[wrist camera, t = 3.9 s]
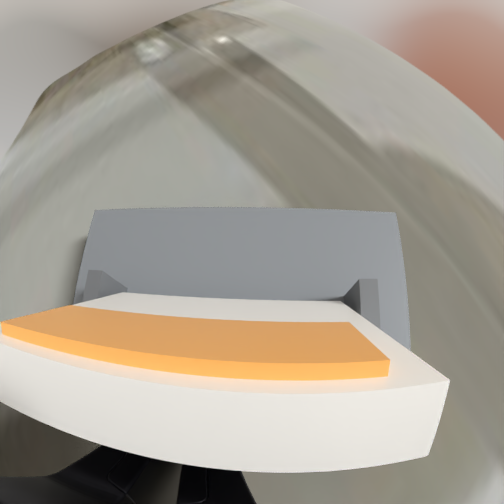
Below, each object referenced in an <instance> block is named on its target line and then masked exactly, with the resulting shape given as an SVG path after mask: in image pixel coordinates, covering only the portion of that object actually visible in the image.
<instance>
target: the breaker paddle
mask: <svg viewBox="0 0 504 504" xmlns="http://www.w3.org/2000/svg"><path fill="white" fill-rule="evenodd" d="M449 382H450V380H449V379H448V378H446V377H445V376H444V375H442V374H441V373H440V372H438V371H437V370H435V369H434V368H433V367H431V366H430V365H429V364H427V363H426V362H424V361H423V360H422V359H420V358H419V357H418V356H416V355H415V354H413V353H412V352H411V351H409V350H408V349H407V348H405V347H404V346H402V345H401V344H400V343H398V342H397V341H396V340H394V339H393V338H391V337H390V336H389V335H387V334H386V333H384V332H383V331H382V330H380V329H379V328H377V327H376V326H375V325H373V324H372V323H371V322H369V321H368V320H366V319H365V318H364V317H362V316H361V315H359V314H358V313H357V312H355V311H354V310H352V309H351V308H350V307H348V306H347V305H345V304H344V303H343V302H341V301H287V300H249V299H223V298H201V297H183V296H167V295H152V294H139V293H126V292H122V293H118V294H114V295H110V296H106V297H102V298H98V299H94V300H90V301H86V302H82V303H78V304H74V305H68V306H64V307H60V308H56V309H52V310H47V311H43V312H39V313H35V314H31V315H27V316H23V317H19V318H14V319H10V320H6V321H2V322H1V323H0V402H2V403H4V404H6V405H7V406H9V407H11V408H13V409H15V410H17V411H19V412H21V413H23V414H25V415H27V416H29V417H32V418H34V419H36V420H38V421H40V422H43V423H45V424H47V425H50V426H52V427H54V428H57V429H59V430H62V431H64V432H67V433H69V434H72V435H75V436H78V437H80V438H83V439H86V440H89V441H92V442H95V443H98V444H101V445H104V446H108V447H111V448H115V449H118V450H122V451H125V452H129V453H133V454H137V455H141V456H145V457H150V458H154V459H159V460H164V461H169V462H174V463H180V464H186V465H192V466H199V467H206V468H215V469H224V470H235V471H249V472H276V473H296V472H323V471H337V470H348V469H357V468H365V467H372V466H379V465H385V464H391V463H396V462H402V461H406V460H411V459H416V458H420V457H424V456H428V454H429V451H430V448H431V446H432V443H433V440H434V437H435V434H436V431H437V427H438V424H439V421H440V417H441V414H442V410H443V407H444V403H445V399H446V395H447V391H448V387H449Z"/></svg>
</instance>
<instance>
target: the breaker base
mask: <svg viewBox="0 0 504 504" xmlns="http://www.w3.org/2000/svg"><path fill="white" fill-rule="evenodd" d="M122 292H126V293H139V294H152V295H167V296H183V297H201V298H223V299H249V300H287V301H341V302H343V303H344V304H345V305H347V306H348V307H350V308H351V309H352V310H354V311H355V312H357V313H358V314H359V315H361V316H362V317H364V318H365V319H366V320H368V321H369V322H371V323H372V324H373V325H375V326H376V327H377V328H379V329H380V330H382V331H383V332H384V333H386V334H387V335H389V336H390V337H391V338H393V339H394V340H396V341H397V342H398V343H400V344H401V345H402V346H404V347H405V348H407V349H408V350H409V351H411V348H410V325H409V309H408V297H407V287H406V277H405V269H404V261H403V254H402V247H401V240H400V234H399V228H398V222H397V217H396V213H391V212H374V211H355V210H332V209H303V208H256V207H184V208H138V209H110V210H95V212H94V215H93V219H92V222H91V226H90V230H89V233H88V237H87V241H86V245H85V249H84V253H83V257H82V262H81V266H80V271H79V275H78V280H77V285H76V290H75V296H74V302H73V305H74V304H78V303H82V302H86V301H90V300H94V299H98V298H102V297H106V296H110V295H114V294H118V293H122Z"/></svg>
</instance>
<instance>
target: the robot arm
mask: <svg viewBox="0 0 504 504" xmlns="http://www.w3.org/2000/svg"><path fill="white" fill-rule="evenodd" d="M0 504H256V502H255V500H254V498H253V496H252V494H251V492H250V490H249V488H248V486H247V483H246V481H245V479H244V476H243V474H242V471H235V470H224V469H215V468H206V467H199V466H192V465H186V464H180V463H174V462H169V461H164V460H159V459H154V458H150V457H145V456H141V455H137V454H133V453H129V452H125V451H122V450H118V449H115V448H111V447H108V446H104V445H101V446H100V447H98V448H97V449H95V450H94V451H92V452H91V453H89V454H88V455H86V456H84V457H83V458H81V459H80V460H78V461H76V462H75V463H73V464H71V465H70V466H68V467H66V468H65V469H63V470H61V471H59V472H57V473H55V474H52V475H48V476H39V477H2V476H0Z"/></svg>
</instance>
